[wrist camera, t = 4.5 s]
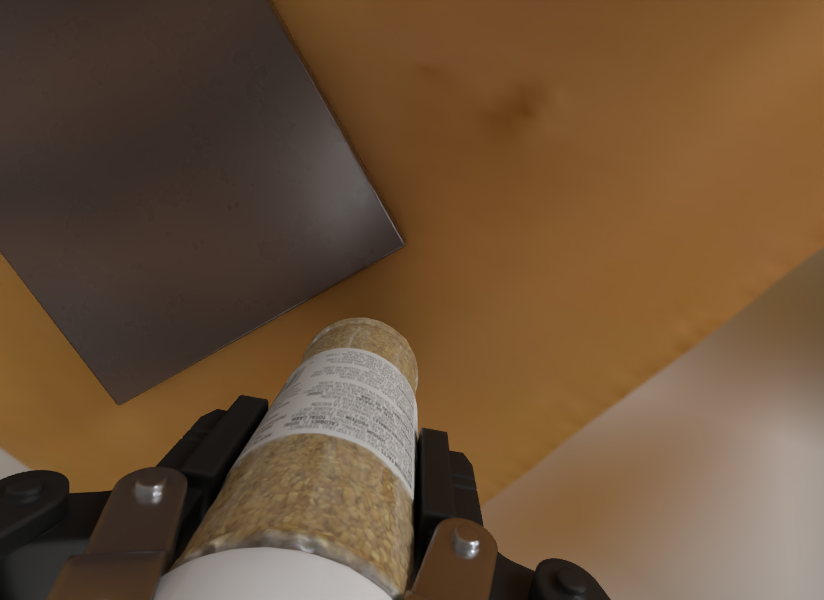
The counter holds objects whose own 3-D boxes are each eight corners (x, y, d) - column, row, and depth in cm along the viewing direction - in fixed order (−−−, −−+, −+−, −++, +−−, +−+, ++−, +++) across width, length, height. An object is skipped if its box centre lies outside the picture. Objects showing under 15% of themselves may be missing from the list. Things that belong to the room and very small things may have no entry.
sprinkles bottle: (364, 442, 19) (254, 1007, 6) (278, 369, 18) (-58, 838, 5) (444, 367, 18) (513, 838, 5) (357, 287, 18) (185, 607, 4)
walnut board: (-133, 30, 18) (-181, 17, 17) (163, -192, 16) (138, -229, 15) (138, 391, 21) (117, 406, 20) (406, 241, 20) (405, 246, 18)
